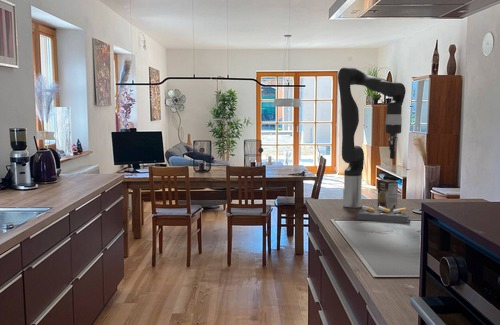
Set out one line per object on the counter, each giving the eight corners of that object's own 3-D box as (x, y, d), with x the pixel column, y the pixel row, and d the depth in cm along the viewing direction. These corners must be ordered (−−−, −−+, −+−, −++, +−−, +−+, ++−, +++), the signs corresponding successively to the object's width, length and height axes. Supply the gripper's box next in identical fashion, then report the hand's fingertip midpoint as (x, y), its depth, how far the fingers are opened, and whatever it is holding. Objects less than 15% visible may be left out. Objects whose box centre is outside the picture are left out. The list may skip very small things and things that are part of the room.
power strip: (357, 219, 228) (357, 212, 228) (359, 215, 237) (360, 209, 236) (407, 223, 220) (407, 216, 220) (408, 219, 228) (408, 212, 228)
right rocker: (394, 214, 227) (393, 211, 227) (394, 213, 230) (393, 209, 230) (405, 212, 225) (404, 208, 225) (406, 210, 228) (405, 207, 228)
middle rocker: (377, 210, 230) (378, 206, 229) (378, 208, 233) (379, 205, 233) (388, 214, 228) (389, 210, 227) (389, 212, 231) (390, 209, 231)
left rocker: (361, 209, 232) (362, 206, 232) (362, 208, 236) (363, 204, 235) (372, 213, 230) (373, 209, 230) (373, 211, 234) (374, 208, 234)
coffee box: (376, 209, 251) (377, 179, 249) (387, 209, 253) (388, 179, 251) (386, 213, 242) (387, 181, 241) (397, 212, 244) (398, 181, 243)
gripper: (387, 123, 242) (386, 157, 244) (384, 123, 230) (382, 159, 232) (402, 123, 239) (401, 157, 241) (400, 124, 227) (398, 160, 229)
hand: (392, 158), depth 236 cm, fingers closed
